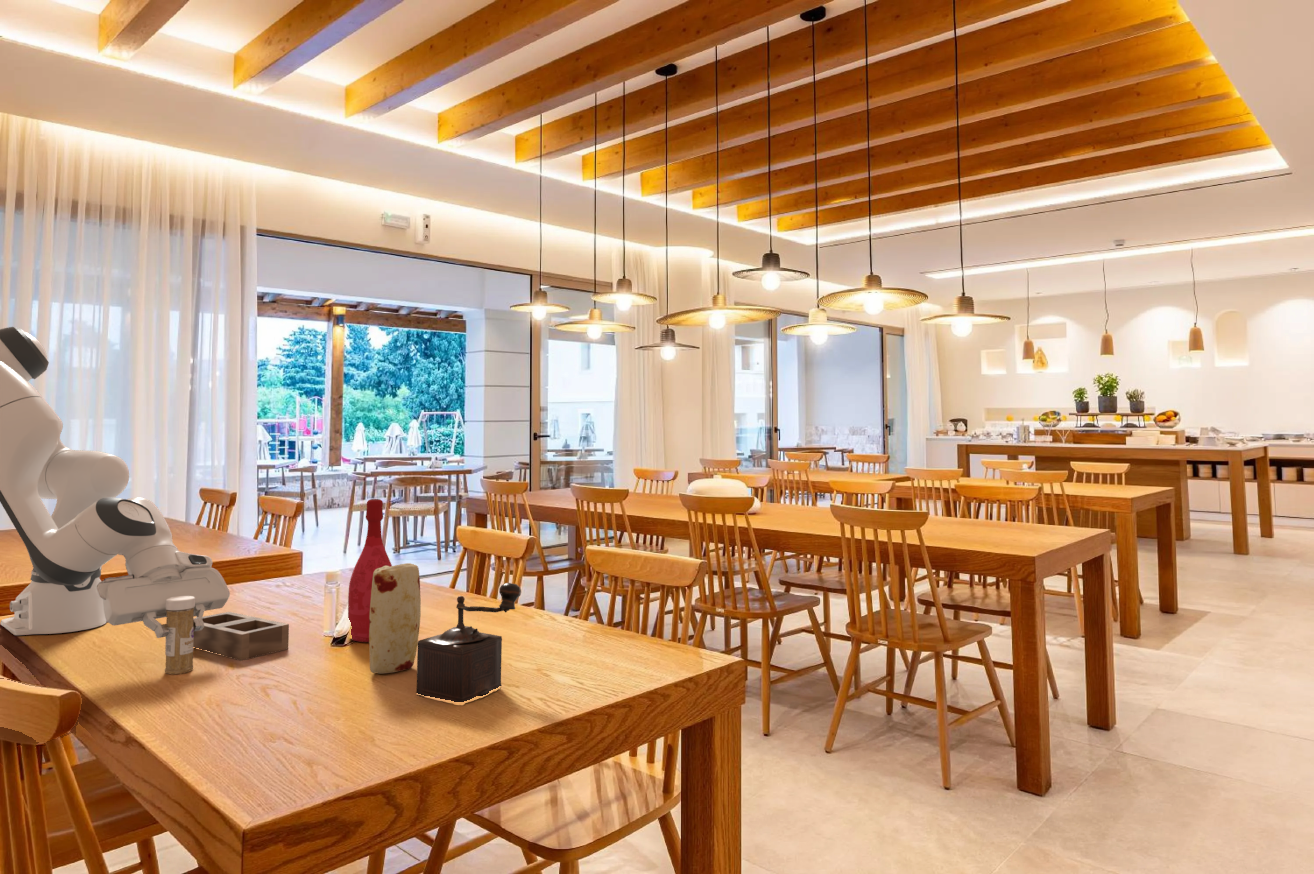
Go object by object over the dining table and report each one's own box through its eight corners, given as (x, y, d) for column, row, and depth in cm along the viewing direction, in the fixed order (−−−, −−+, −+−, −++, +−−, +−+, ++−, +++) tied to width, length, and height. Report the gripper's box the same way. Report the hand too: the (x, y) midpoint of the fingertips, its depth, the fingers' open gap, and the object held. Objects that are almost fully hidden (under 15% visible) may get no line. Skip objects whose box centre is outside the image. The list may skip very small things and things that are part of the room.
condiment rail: (181, 645, 158) (181, 620, 158) (228, 634, 167) (229, 611, 167) (241, 660, 148) (241, 634, 148) (288, 648, 157) (288, 624, 157)
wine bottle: (337, 640, 164) (340, 499, 164) (370, 630, 173) (373, 496, 173) (373, 646, 160) (376, 501, 160) (405, 635, 169) (408, 498, 170)
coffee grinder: (463, 707, 125) (466, 596, 125) (414, 695, 130) (416, 589, 131) (524, 682, 139) (526, 582, 139) (477, 672, 144) (479, 575, 144)
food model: (378, 680, 138) (381, 568, 138) (359, 672, 142) (362, 564, 142) (426, 669, 145) (429, 562, 145) (407, 661, 150) (409, 558, 150)
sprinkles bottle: (194, 672, 140) (195, 598, 140) (164, 676, 138) (166, 600, 138) (192, 666, 144) (194, 594, 144) (163, 669, 142) (165, 596, 142)
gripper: (99, 568, 136) (122, 633, 131) (219, 555, 153) (243, 612, 148) (88, 590, 139) (110, 654, 133) (207, 575, 156) (231, 631, 150)
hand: (181, 632), depth 141 cm, fingers open, 5 cm apart
